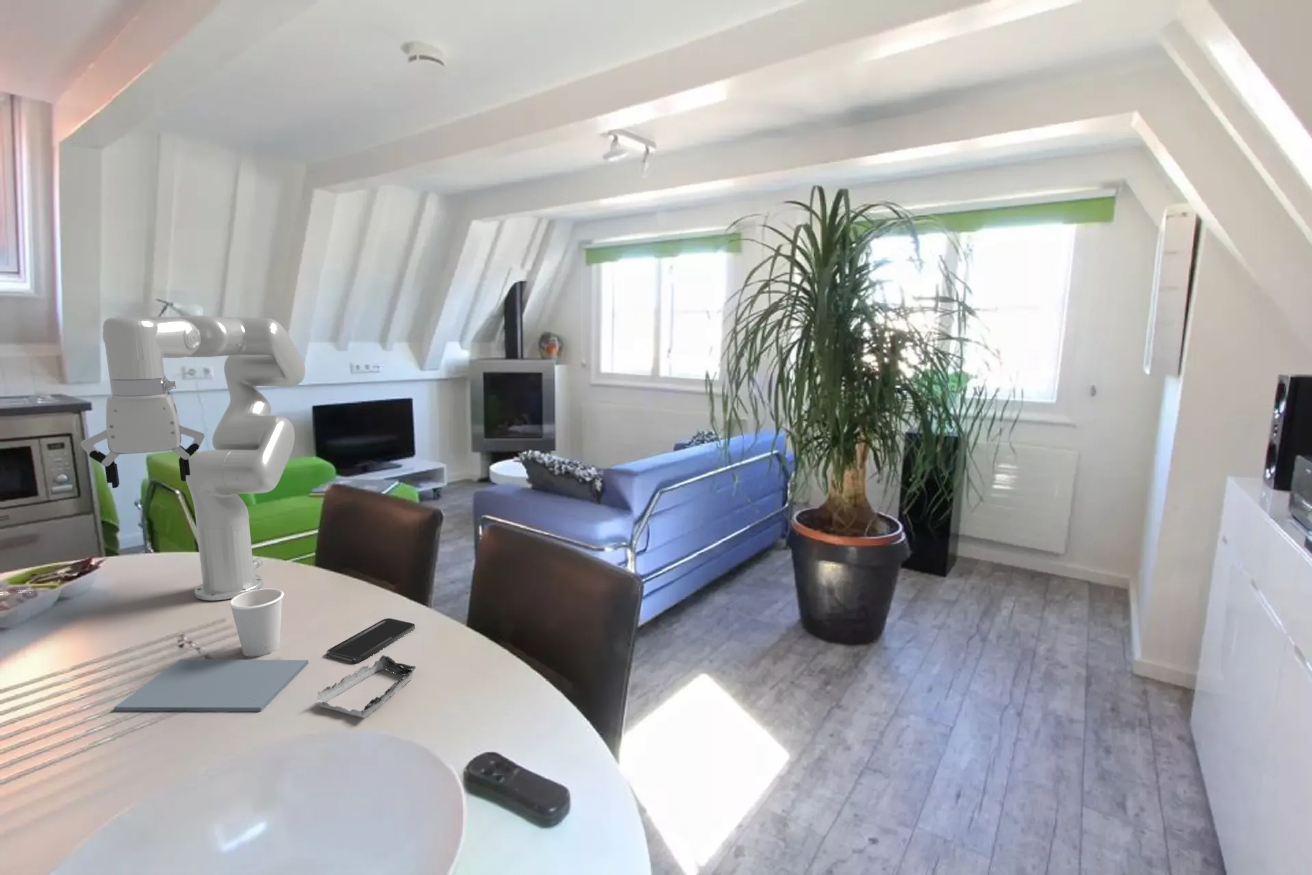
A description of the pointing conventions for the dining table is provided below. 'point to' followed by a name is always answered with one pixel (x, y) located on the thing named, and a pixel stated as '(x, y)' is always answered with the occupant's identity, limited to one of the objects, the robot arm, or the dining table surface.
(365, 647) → the phone
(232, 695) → the slate mat
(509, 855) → the dining table surface
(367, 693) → the dining table surface
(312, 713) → the dining table surface
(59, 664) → the dining table surface
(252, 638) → the dixie cup
